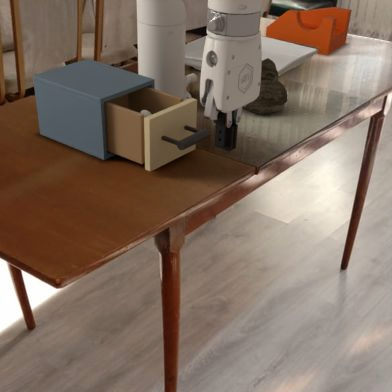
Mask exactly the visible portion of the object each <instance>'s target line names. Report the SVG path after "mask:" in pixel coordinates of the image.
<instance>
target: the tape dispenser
mask: <svg viewBox="0 0 392 392" xmlns="http://www.w3.org/2000/svg"><path fill="white" fill-rule="evenodd" d="M351 16H352V9H349V8H343V7H338V6H330V7H322V8H321V7H320V8H312V9H303V10H297V9H293V8H291V9H289V10H287V11H285V12H284V13H283V14H282V15H280V16H278V17H277V19H275V20H274V21H272V22H271V23H270V24H269V25H268V26H266V30H265V37H268V38H273V39H277V40H281V41H286V42H290V43H293V44H298V45H303V46H307V47H312V48H318V49H317V50H318V52H317V53H318V54H321V55H325V56H328V55H330V54H332V53H334V52H335V51H336V50H338V49H340V48H341V47H343V46H344V45H346V43H347V38H348V32H349V27H350V22H351Z"/></svg>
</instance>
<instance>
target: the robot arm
mask: <svg viewBox="0 0 392 392" xmlns="http://www.w3.org/2000/svg"><path fill="white" fill-rule="evenodd" d="M135 2H136V27H137V29H136V31H137V33H136V34H137V72H138V73H137V74H139V75H142V76H145V77H149V78H152V79H154V80H155V83H154V84H155V89H156V90H159V91H162V92H166V93H169V94H172V95H175V96H178V97H181V98H183V102H184V101H186V100H188V99H191V98H192V94H191V93H190V92H189V91H188V90H187V88H188V86H189V85H193V84H195V83H196V82H197V81H198V77H197V75H196V73H193V72H192V73H190V74H187V75H185V74H186V73H185V72H186V65H185V45H186V37H187V36H186V34H187V33H186V31H187V27H186V26H187V11H186V5H185V2H184V1H183V0H136V1H135ZM262 7H263V0H207V11H206V13H207V15H206V19H207V20H206V34H207V35H205V36H206V40H205V46H204V52H203V59H202V67H201V70H200V78H199V79H200V82H199V102H200V105H201V106H202V107H204V111H203V118H204V119H207V120H210V121H213V124H215V125H214V140H213V141H214V143H213V145H214V147H215V148H216V149H219V150H222V151H224V152H228V153H229V152H232V151H233V150H235V149H237V144H238V143H237V141H238V129H239V124H240V122H241V118H242V112H243V110H244V108H245V107H244V106H246V105H247V104H248V103H250V102H252V101H254V100H255V99H256V98H257V97H258V96H259V93H260V83H261V64H262V44H261V36H262V35H261V30H260V29H261V19H262Z"/></svg>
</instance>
